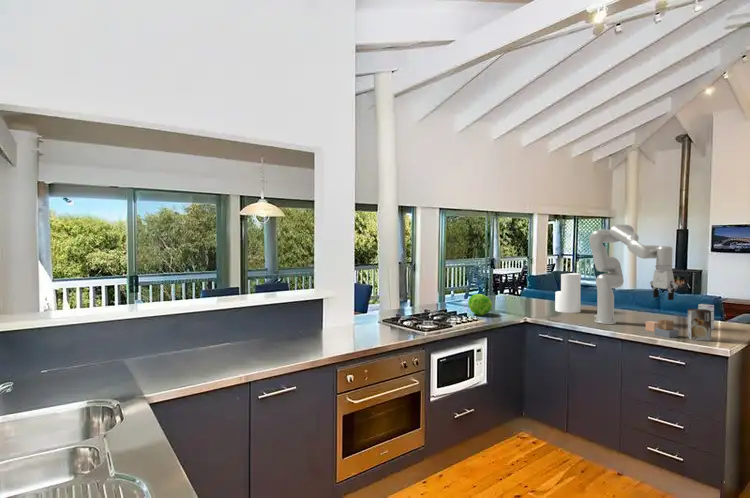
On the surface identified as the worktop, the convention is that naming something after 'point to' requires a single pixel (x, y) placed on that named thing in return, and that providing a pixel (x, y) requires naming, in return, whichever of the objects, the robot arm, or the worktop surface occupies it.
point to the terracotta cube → (651, 325)
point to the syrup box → (711, 308)
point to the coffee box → (699, 324)
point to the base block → (667, 333)
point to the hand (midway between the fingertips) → (663, 298)
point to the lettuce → (479, 304)
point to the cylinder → (569, 294)
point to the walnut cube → (665, 324)
